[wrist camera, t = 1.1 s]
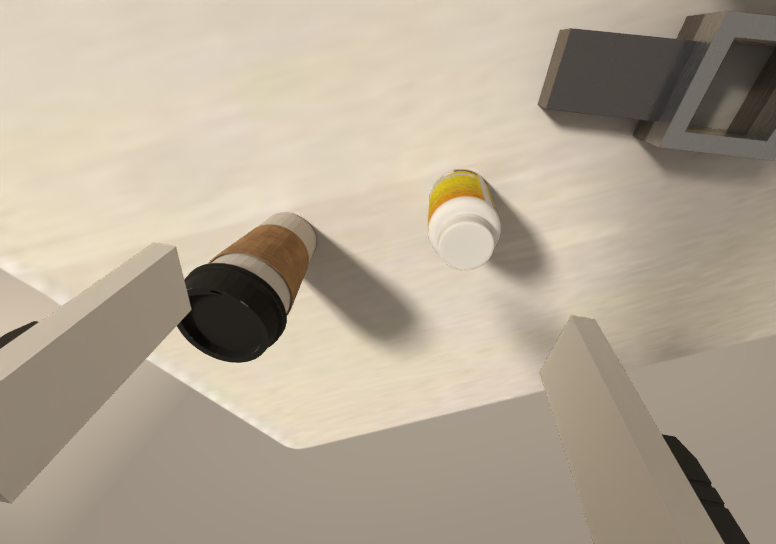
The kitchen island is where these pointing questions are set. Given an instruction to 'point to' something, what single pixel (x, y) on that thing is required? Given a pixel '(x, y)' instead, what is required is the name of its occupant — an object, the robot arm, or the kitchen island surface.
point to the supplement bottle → (462, 219)
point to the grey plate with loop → (667, 82)
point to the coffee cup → (248, 290)
